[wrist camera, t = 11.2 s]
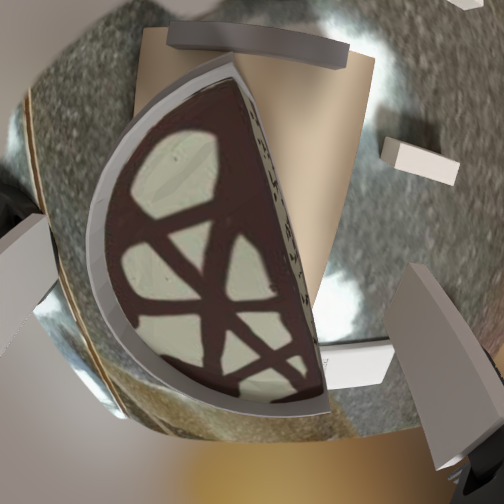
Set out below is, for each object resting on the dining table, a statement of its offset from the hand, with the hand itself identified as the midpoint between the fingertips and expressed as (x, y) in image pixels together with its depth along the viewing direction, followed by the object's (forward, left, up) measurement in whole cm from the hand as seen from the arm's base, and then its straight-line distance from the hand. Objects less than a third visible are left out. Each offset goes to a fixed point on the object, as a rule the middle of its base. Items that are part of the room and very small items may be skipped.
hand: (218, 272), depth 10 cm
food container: (0, 0, -8) cm, 8 cm away
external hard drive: (+15, -22, -16) cm, 32 cm away
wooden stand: (0, 0, -15) cm, 15 cm away
